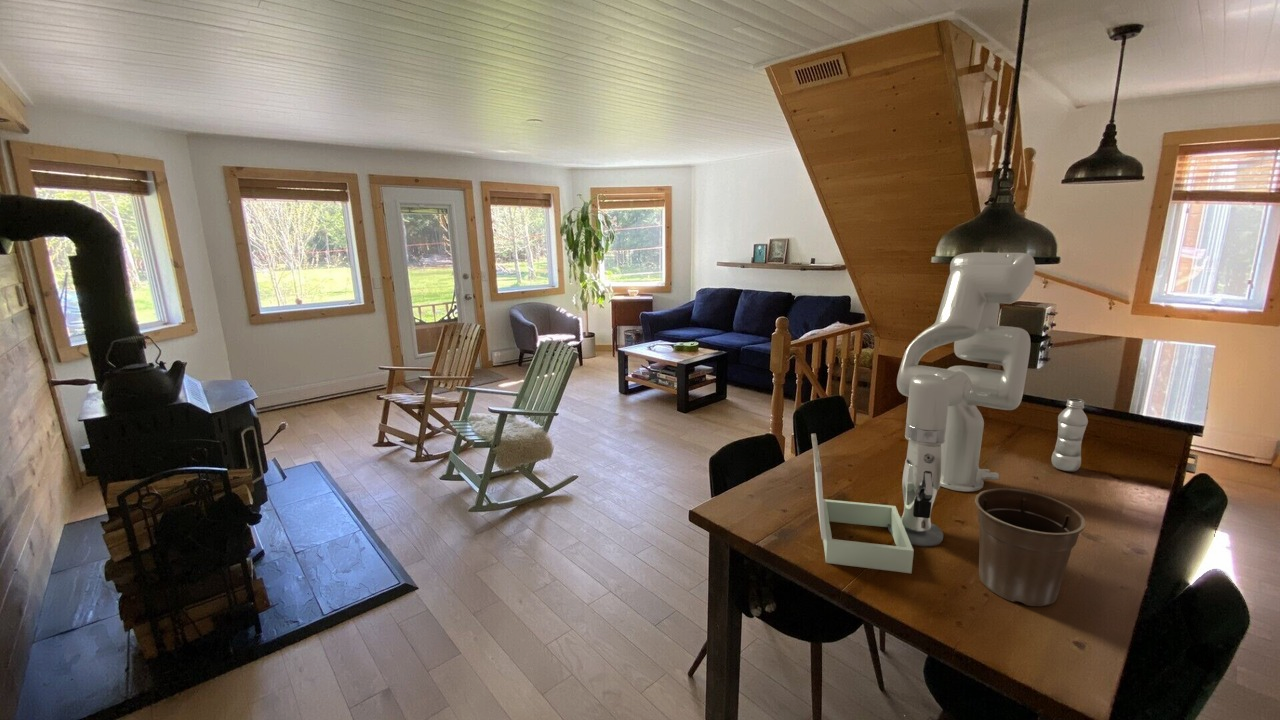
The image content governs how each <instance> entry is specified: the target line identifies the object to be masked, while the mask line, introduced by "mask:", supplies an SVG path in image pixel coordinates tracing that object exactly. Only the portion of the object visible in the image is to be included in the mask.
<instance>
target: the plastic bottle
mask: <svg viewBox="0 0 1280 720" xmlns="http://www.w3.org/2000/svg"><path fill="white" fill-rule="evenodd" d="M1066 401H1067V402H1066V403H1065V406H1066V408H1064V409H1063V410H1062V411H1060V413H1059V414H1058V415H1057V424H1058V425H1057V429H1058V430H1057V437H1056V438H1057V439H1056V443H1055V445H1054V447H1055V448H1054V450H1053V451H1052V455H1051V464H1052V466H1053V467H1054V468H1056V469H1057V470H1061V471H1064V472H1077V471H1078V470H1079V469H1080V467H1081V465H1082V454H1081V453H1082V442H1083V440H1084V439H1083V438H1084V435H1085V431H1086V428H1087V426H1088V423H1089V420H1088V416H1087V415H1086V413H1085V412H1084V409H1085V400H1083V399H1080V398H1076V397H1075V398H1072V397H1070V398H1067V400H1066Z"/></svg>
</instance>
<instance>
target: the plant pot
mask: <svg viewBox="0 0 1280 720" xmlns="http://www.w3.org/2000/svg"><path fill="white" fill-rule="evenodd" d="M974 503H975V506H976V508H977V521H978V524H979V536H978V537H979V541H978V542H979V544H978V545H979V546H978V547H979V552H978V553H979V557H978V563H979V564H978V575H979V580H980V581H981V582H982V584H983V585H984V586H985V588H987V589H988V590H989V591H991V592H992V593H994V594H995V595H997V596H998V597H1000V598H1002V599H1005V600H1007V601H1009V602H1011V603H1013V602H1019V603H1022V604H1024V605H1025V606H1028V607H1045V606H1049V605H1051V604H1054V603H1055V602H1056V601H1057V599H1058V596H1059V592H1060V589H1061V586H1062V582H1063V579H1064V576H1065V572H1066V569H1067V566H1068V562H1069V559H1070V556H1071V554H1072V553H1071V552H1072V549H1073V548H1074V547H1075V546H1076V545H1077V541H1078V539H1079V535H1080V533H1081V532H1082V531H1084V529H1085V528H1086V527H1085V526H1086V520H1085V518H1084V516H1083V515H1082V514H1081V513H1080V512H1079V511H1078V510H1076V509H1075V508H1074V507H1071V506H1070V505H1068V504H1067V503H1064V502H1063V501H1060V500H1058V499H1055V498H1053V497H1050V496H1047V495H1044V494H1040V493H1037V492H1033V491H1029V490H1025V489H1017V488H992V489H986V490H983V491H980V492H979V493H978V494H976V496H975V499H974Z"/></svg>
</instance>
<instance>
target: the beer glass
mask: <svg viewBox="0 0 1280 720" xmlns="http://www.w3.org/2000/svg"><path fill="white" fill-rule="evenodd" d="M912 467H913V466H912V465H910V464H909V463H908V458H907V457H906V459H905V460H904V466H903V472H902V481H901V482H902V483H901V485H902V496H903V513H902V516H901V517H902V518H901V521H902V523H903V526H904V527H905V528H907V529H909V530H912V531H916V532H927V531H929V530H930V529H931V523H932V521H931V520H932V519H931V517H930V518H920V517H914V515H913V509H914V499H916V491H917V488H916V487H915V486H914V485H913V472H912ZM932 484H933V483H932ZM919 486H924V479H923V481H922V482H921V484H920V483H919ZM932 488H933V496H932V503H931V510H932V509H933V505H934V503H935V501H936V497H937V493H938V490H936V489H934V487H933V486H932ZM924 490H925V489H920V495H921V493H924ZM931 514H932V511H931V512H930V515H931Z"/></svg>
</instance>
